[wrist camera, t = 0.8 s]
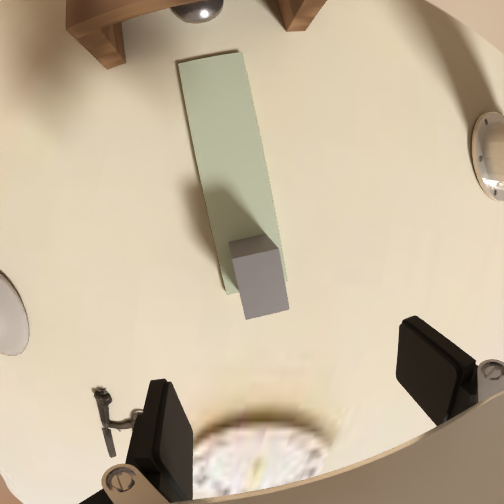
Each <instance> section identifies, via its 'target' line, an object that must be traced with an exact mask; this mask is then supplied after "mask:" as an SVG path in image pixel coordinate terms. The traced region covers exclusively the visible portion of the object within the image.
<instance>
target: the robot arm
mask: <svg viewBox="0 0 504 504" xmlns="http://www.w3.org/2000/svg"><path fill="white" fill-rule="evenodd" d="M472 158H473V164H474V169H475V173H476V176H477V179H478V181H479V183H480V186H481V187H482V189H483V190H484V192H485V193H486V194H487V195H488V197H490V198H491V199H493V200H496V201H504V116H503V115H501V114H499V113H497V112H487V113H484V114H482V115H481V116H480V117H479V118H478V120H477V121H476V124H475V126H474V130H473V135H472ZM475 363H476V360H475V359H473V358H472V357H471V356H469V355H468V354H467V353H466V352H464V351H463V350H462V349H460V348H459V347H458V346H456V345H455V344H454V343H452V342H451V341H450V340H449V339H447V338H446V337H445V336H443V335H442V334H441V333H439V332H438V331H436V330H435V329H434V328H432V327H431V326H430V325H428V324H427V323H426V322H424V321H423V320H422V319H420V318H419V317H418V316H412V317H409V318H406V319H404V320H403V321H402V324H401V325H400V326H399V342H398V355H397V367H396V378H397V380H398V382H399V383H400V384H401V385H402V386H403V387H404V388H405V390H406V391H407V392H408V393H409V394H410V395H411V396H412V398H413V399H414V400H415V401H416V402H417V403H418V405H419V406H420V407H421V408H422V409H423V410H424V412H425V413H426V414H427V415H428V416H429V417H430V419H431V420H432V421H433V422H434V423H435V424H436V426H437V427H435V428H433V429H431V430H430V431H428V432H426V433H424V434H422V435H420V436H418V437H416V438H414V439H412V440H410V441H408V442H405V443H403V444H401V445H399V446H397V447H395V448H392V449H390V450H388V451H385V452H383V453H381V454H378V455H376V456H373V457H371V458H368V459H366V460H363V461H360V462H358V463H355V464H352V465H350V466H347V467H344V468H341V469H338V470H335V471H332V472H329V473H325V474H322V475H319V476H315V477H312V478H308V479H305V480H301V481H297V482H293V483H289V484H285V485H281V486H276V487H272V488H267V489H262V490H257V491H251V492H245V493H240V494H234V495H227V496H220V497H212V498H203V499H196V500H192V499H193V431H192V428H191V425H190V423H189V421H188V419H187V417H186V414H185V412H184V410H183V408H182V405H181V403H180V401H179V398H178V396H177V394H176V391H175V389H174V387H173V384H172V382H167V380H166V379H158V380H151V381H150V384H149V388H148V392H147V397H146V401H145V405H144V409H143V414H138V415H137V417H136V420H135V424H134V428H133V432H132V436H131V440H130V445H129V449H128V454H127V458H126V463H125V464H118V465H115V466H112V467H110V468H109V469H108V470H107V471H106V472H105V473H104V474H103V477H102V487H103V489H102V490H100V491H99V492H97V493H95V494H94V495H92V496H91V497H89V498H87V499H86V500H84V501H83V502H81V503H79V504H504V363H503V362H502V361H499V360H494V359H490V360H486V361H483V362H482V363H480V364H479V366H477V365H476V364H475Z"/></svg>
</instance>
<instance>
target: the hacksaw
mask: <svg viewBox="0 0 504 504" xmlns="http://www.w3.org/2000/svg"><path fill="white" fill-rule="evenodd" d="M103 390H104V389H102V391H101V390H100V389H98V391H96V392H95V394H94V397H95V398H96V399H97V403H98V406H99V411H100V415H101V421H102V425H103V427H105V429H102V430H103V433H104V438H105V441H106V445H107V449H108V452H109V455H110V458H112V457H115V456H116V452H115V448H114V443H113V439H112V434H111V430H109V429H108V428H116V429H118V430H119V429H129V428H134V424H135V420H136V416H137V415H138V414H143V413H142V412H137V413H135V414H134V415H133V416H132V421H127V422H125V423H115V422H110V419H109V408H108V405H109V404H110V403H111V402H112V398H111V396H110V394H109V393H107V391H103ZM119 431H120V430H119Z"/></svg>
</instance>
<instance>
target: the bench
mask: <svg viewBox="0 0 504 504" xmlns="http://www.w3.org/2000/svg"><path fill="white" fill-rule="evenodd" d="M198 1H203V0H67V1H66V30H67V31H68V32H69V33H70V34H71V35H72V36H73V37H74V38H76V39H77V40H78V41H79V42H80V43H81V44H82V45H83V46H84V47H85V48H86V49H87V50H88V51H89V52H90V53H91V54H92V55H93V56H94V57H95V58H96V59H97V60H98V61H99V62H100V63H101V64H102V65H103V66H104V67H105V68H106V69H110V68H113V67H116V66H119V65H121V64H124V63H126V59H125V51H124V43H123V34H122V24H121V21H124V20H127V19H130V18H133V17H137V16H140V15H143V14H147V13H150V12H154V11H158V10H162V9H165V8H170V7H174V6H178V5H183V4H188V3H192V2H198ZM326 1H327V0H277V3H278V6H279V9H280V12H281V16H282V19H283V22H284V25H285V28H286V31H287V32H289V31H305V30H306V29H307V27H308V26H309V25H310V23H311V22H312V20H313V19H314V18H315V16H316V15H317V13H318V12H319V11H320V9H321V8H322V6H323V5H324V4H325V2H326Z"/></svg>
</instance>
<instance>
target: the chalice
mask: <svg viewBox="0 0 504 504" xmlns="http://www.w3.org/2000/svg"><path fill="white" fill-rule="evenodd" d="M28 340H29V323H28V318H27V314H26V311H25V308H24V306H23V303H22V301H21V299H20V297H19V295H18V293H17V292H16V290H15V289H14V288H13V286H12V285H11V283H10V282H9V281H8V280H7V279H6V278H5V277H4V276H3V275H2V274H1V273H0V353H1V354H4V355H8V356H15V355H18V354H20V353H22V352H23V351H24V350H25V348H26V346H27V344H28Z"/></svg>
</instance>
